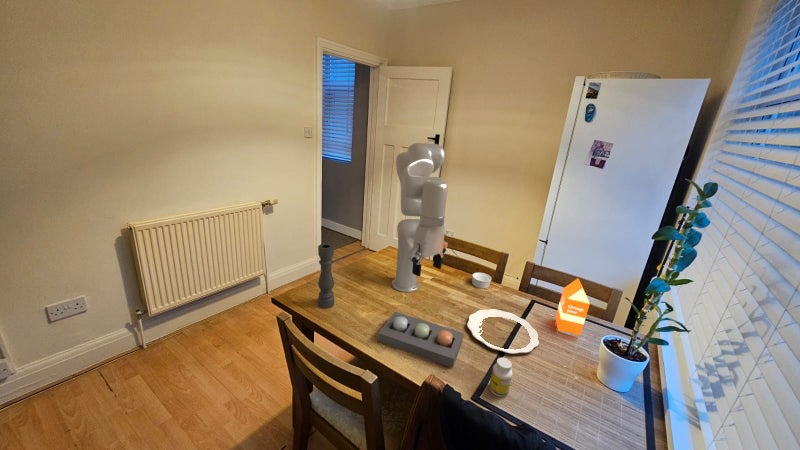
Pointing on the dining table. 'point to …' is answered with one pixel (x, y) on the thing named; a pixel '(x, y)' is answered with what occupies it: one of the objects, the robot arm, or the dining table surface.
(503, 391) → the supplement bottle
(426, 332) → the sage button
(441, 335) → the terracotta button
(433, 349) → the button panel
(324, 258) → the candle holder
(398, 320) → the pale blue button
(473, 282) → the ramekin
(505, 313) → the plate
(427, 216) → the robot arm
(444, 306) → the dining table surface
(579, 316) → the orange juice
